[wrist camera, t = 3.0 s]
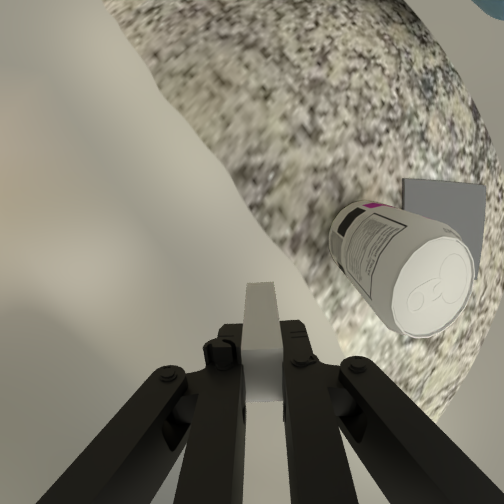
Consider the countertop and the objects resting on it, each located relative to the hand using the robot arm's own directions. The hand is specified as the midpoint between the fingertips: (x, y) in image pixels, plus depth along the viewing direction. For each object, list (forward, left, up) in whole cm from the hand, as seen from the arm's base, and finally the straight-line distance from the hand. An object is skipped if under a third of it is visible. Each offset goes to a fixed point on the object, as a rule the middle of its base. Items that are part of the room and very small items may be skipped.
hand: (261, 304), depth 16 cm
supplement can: (0, +11, -14) cm, 18 cm away
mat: (0, +23, -14) cm, 27 cm away
